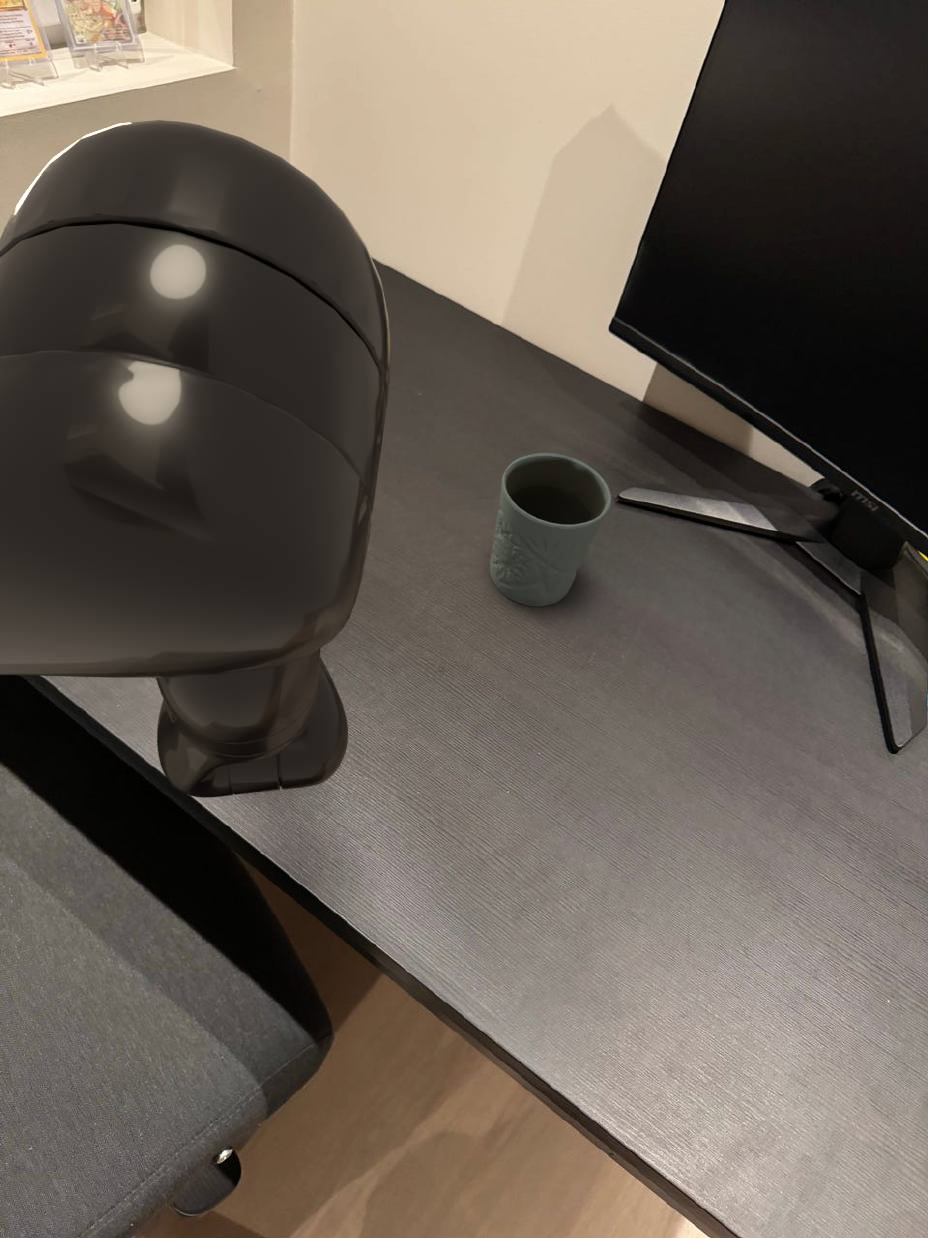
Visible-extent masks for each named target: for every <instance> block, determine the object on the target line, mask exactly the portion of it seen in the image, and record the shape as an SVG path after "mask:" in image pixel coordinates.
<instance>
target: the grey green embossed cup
mask: <svg viewBox="0 0 928 1238" xmlns="http://www.w3.org/2000/svg"><path fill="white" fill-rule="evenodd" d="M610 490H611V489H610V488H609V485H608V484H607V482H606V480H605V479H604V478H603V477H602V476H601V475H600V474H599V473H598V472H597V471H596V470H595V469H593V468H592V467H591V466H590V465H588V464H587V463H585V462H583V461H581V460H579V459H577V458H574V457H571V456H568V455H565V454H560V453H555V452H554V453H553V452H537V453H533V454H528V455H524V456H521V457H518V458H517V459H515V460H513V461H512V462H511V463H510V464H509V465H508V466H507V467H506V469H505V470H504V473H503V475H502V478H501V484H500V495H499V507H500V509H499V510H498V511H497V512H498V513H497V517H496V523H495V528H494V530H495V532H494V533H495V534H494V536H493V542H492V550H491V554H490V562H489V575H490V579H491V581H492V584H493V585H494V586H495V587H496V589H497V590H498V591H499V592H500V593H501V594H502V595H504V596H505V597H506V598H508V599H509V600H511V601H513V602H515V603H518V604H520V605H524V606H529V607H530V606H531V607H547V606H550V605H551V606H552V605H554V604H557V603H558V602H559V601H561V600H562V599H564V597H566V596H567V595H568V594H569V591H570V589H571V588H572V586H573V584H574V581H575V579H576V578H577V571H578V570H579V569H580V567H581V566H582V564H584V563H583V562H584V561H585V558H586V556H587V554H588V553H589V550H590V547H591V544H592V542H593V540H594V538H595V536H596V534H597V532H598V530H599V528H600V527H601V525H602V523H603V521H604V519H605V518H606V516H607V514H608V512H609V510H610V508H611V503H612V493H611V491H610Z"/></svg>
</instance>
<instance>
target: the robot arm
mask: <svg viewBox="0 0 928 1238" xmlns="http://www.w3.org/2000/svg"><path fill="white" fill-rule="evenodd" d="M391 358H392V343H391V325H390V318H389V313H388V308H387V303H386V298H385V294H384V288H383V282H382V279H381V277H380V275H379V272H378V270H377V268H376V265H375V263H374V261H373V258H372V255H371V253H370V251H369V248H368V247H367V244H366V242H365V241H364V239H363V238H362V236H361V235H360V233H359V232H358V231H357V228H356V227H355V226H354V224H353V223H352V222H351V220H350V219H349V217H348V215H347V214H346V212H345V210H343V209H342V208H341V206H339V205H338V204H337V202H335V201H334V200H333V198H331V197H330V196H329V195H328V193H327V192H325V191H324V189H323V188H321V186H320V185H319V184H318V183H317V182H316V181H315V180H314V179H312V178H310V176H308V175H306V174H305V173H303V171H301V170H299V169H298V168H297V167H296V166H294V165H292V164H291V163H290V162H288V161H287V159H284V158H283V157H282V156H280V155H278V154H276V153H274V152H272V151H269V150H267V149H266V148H263V147H262V146H260V145H257V144H256V143H254V142H252V141H250V140H248V139H246V138H243V137H242V136H238V135H234V134H231V133H228V132H224V131H221V130H218V129H215V128H211V127H208V126H204V125H202V124H196V123H191V122H184V121H176V120H162V119H156V120H155V119H154V120H145V121H144V120H143V121H131V122H121V123H117V124H114V125H112V126H109V127H107V128H103V129H101V130H98V131H94V132H92V133H88V134H86V135H84V136H83V137H81V138H79V139H78V140H77V141H75V142H74V143H72V144H71V145H69V146H68V147H66V148H65V149H64V150H62V151H60V153H58V154H57V155H55V156H54V157H52V159H51V160H50V161H49V162H48V163H47V164H46V165H45V167H44V168H43V169H42V170H41V172H40V173H39V174H38V176H37V177H36V178H35V180H34V181H33V182H32V183H31V185H30V186H29V188H28V189H27V190H26V191H25V193H24V194H23V196H22V197H21V198H20V200H19V202H18V203H17V204H16V206H15V208H14V209H13V211H12V213H11V215H10V217H9V219H8V220H7V222H6V224H5V227H4V229H3V231H2V234H1V236H0V676H1V675H2V676H34V677H35V676H37V677H38V676H39V677H73V678H106V679H107V678H109V679H110V678H111V679H113V678H115V679H116V678H117V679H118V678H119V679H121V678H122V679H123V678H124V679H125V678H126V679H131V678H132V679H135V678H136V679H137V678H139V679H147V678H148V679H149V678H152V679H155V680H156V683H157V686H158V689H159V692H160V695H161V697H162V702H161V706H160V709H159V714H158V719H157V727H156V746H157V754H158V761H159V763H160V767H161V770H162V772H163V774H164V776H165V777H166V780H167V781H168V782H169V784H170V785H171V786H172V787H173V788H174V790H177V791H178V792H180V793H182V794H184V795H186V796H189V797H195V798H203V799H205V798H206V799H207V798H208V799H209V798H211V799H212V798H220V797H221V798H222V797H230V796H231V797H232V796H238V795H248V794H254V793H255V794H257V793H266V792H275V791H280V790H283V791H284V790H285V791H286V790H295V789H302V788H311V787H313V786H314V787H315V786H318V785H321V784H323V783H325V782H326V781H328V780H329V779H331V777H333V776H334V775H335V773H336V772H337V770H338V769H340V766H341V764H342V762H343V760H344V758H345V755H346V753H347V749H348V745H349V744H348V743H349V725H348V719H347V714H346V710H345V707H344V704H343V700H342V698H341V696H340V694H339V691H338V689H337V687H336V684H335V682H334V680H333V678H332V676H331V674H330V672H329V670H328V669H327V667H326V664H325V663H324V661H323V659H322V657H321V648H323V647H324V646H326V645H327V644H329V643H331V642H332V641H333V640H334V639H335V638H336V637H337V636H338V635H339V634H340V632H342V630H343V629H344V628H345V626H346V625H347V623H348V622H349V620H350V619H351V618H350V617H351V615H352V612H353V609H354V607H355V604H356V601H357V598H358V594H359V593H360V592H359V591H360V587H361V584H362V580H363V575H364V570H365V565H366V564H365V563H366V558H367V554H368V548H369V543H370V537H371V527H372V515H373V512H374V506H375V499H376V490H377V482H378V476H379V468H380V459H381V453H382V445H383V437H384V431H385V430H384V429H385V423H386V416H387V415H386V414H387V407H388V401H389V393H390V382H391Z"/></svg>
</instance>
